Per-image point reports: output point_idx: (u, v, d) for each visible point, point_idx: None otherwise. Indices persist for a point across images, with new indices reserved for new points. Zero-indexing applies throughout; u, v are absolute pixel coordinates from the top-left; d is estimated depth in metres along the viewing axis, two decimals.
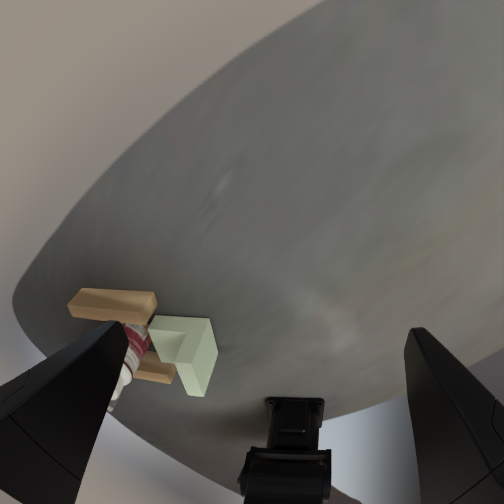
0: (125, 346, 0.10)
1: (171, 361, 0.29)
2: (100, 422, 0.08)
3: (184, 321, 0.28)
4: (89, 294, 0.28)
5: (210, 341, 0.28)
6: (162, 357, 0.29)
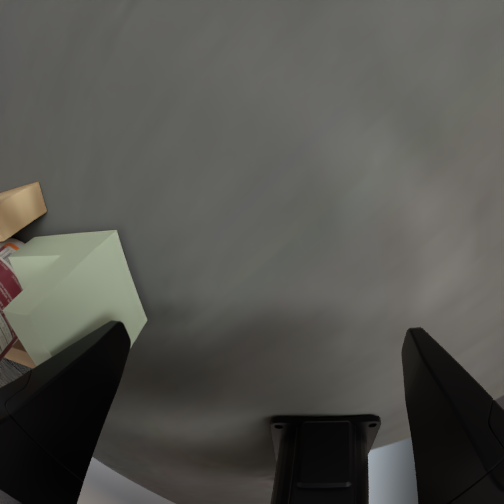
0: (127, 346, 0.10)
1: None
2: (102, 422, 0.08)
3: (69, 239, 0.12)
4: None
5: (119, 286, 0.12)
6: None
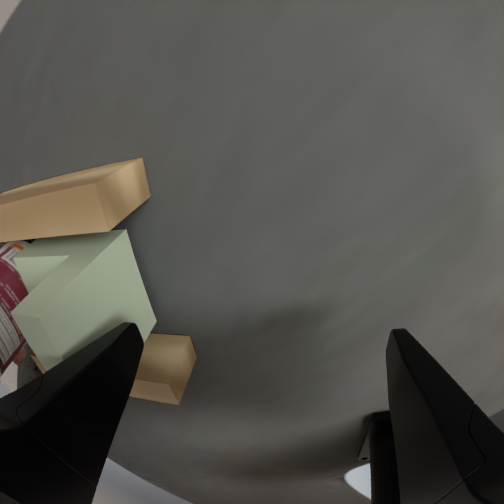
0: (140, 348, 0.09)
1: None
2: (116, 426, 0.08)
3: (77, 239, 0.11)
4: (7, 194, 0.11)
5: (130, 286, 0.12)
6: None
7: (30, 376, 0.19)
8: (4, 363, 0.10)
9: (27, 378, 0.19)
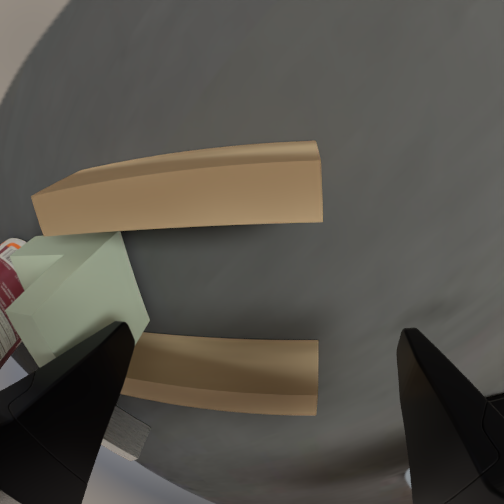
0: (131, 347, 0.10)
1: None
2: (106, 423, 0.08)
3: (72, 238, 0.12)
4: (100, 170, 0.10)
5: (123, 285, 0.12)
6: None
7: None
8: (0, 360, 0.10)
9: None
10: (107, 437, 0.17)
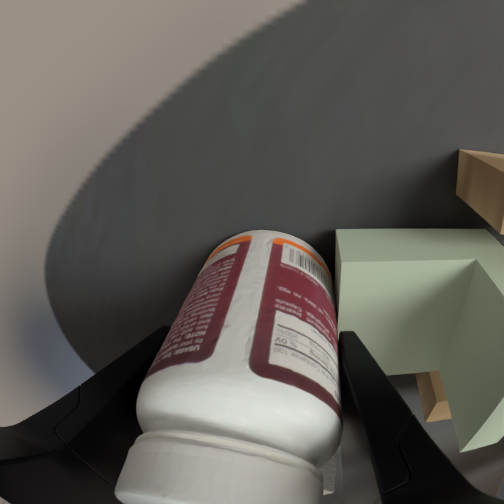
0: None
1: None
2: None
3: (439, 236, 0.08)
4: None
5: None
6: None
7: None
8: None
9: None
10: None
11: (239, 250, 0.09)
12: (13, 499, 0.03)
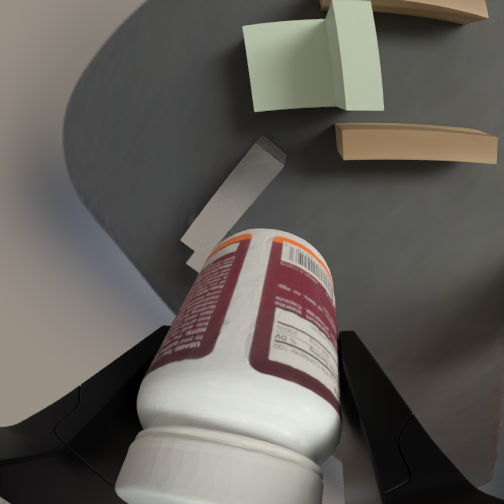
0: None
1: (278, 103, 0.14)
2: None
3: None
4: None
5: None
6: (260, 95, 0.14)
7: None
8: None
9: None
10: None
11: (239, 249, 0.09)
12: (13, 499, 0.03)
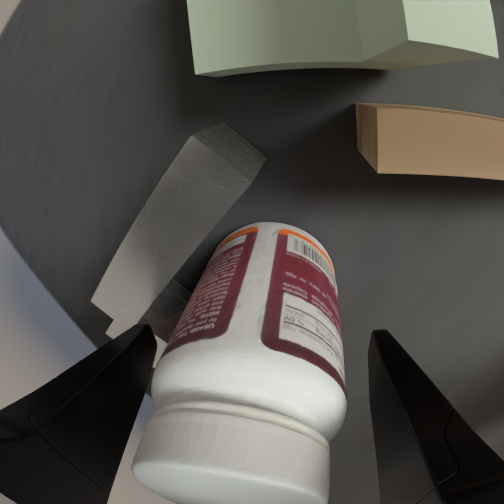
0: (154, 350, 0.09)
1: (242, 54, 0.06)
2: (129, 430, 0.08)
3: None
4: None
5: None
6: (206, 41, 0.06)
7: (163, 287, 0.12)
8: None
9: None
10: None
11: (247, 240, 0.10)
12: None
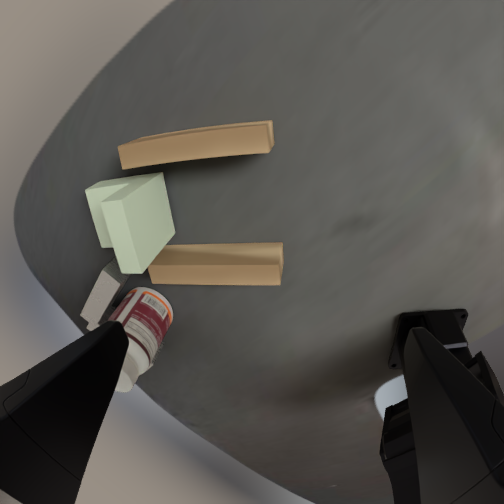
0: (125, 346, 0.10)
1: None
2: (100, 421, 0.08)
3: (131, 178, 0.20)
4: (157, 135, 0.18)
5: (162, 204, 0.20)
6: (102, 237, 0.21)
7: (109, 309, 0.27)
8: None
9: (107, 311, 0.27)
10: None
11: (131, 296, 0.25)
12: None
